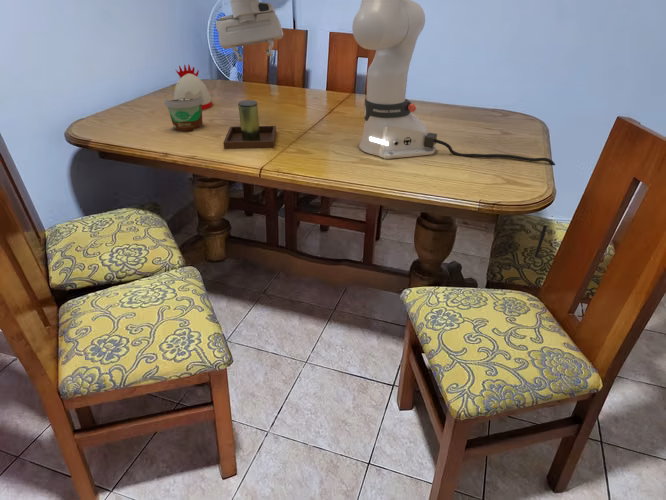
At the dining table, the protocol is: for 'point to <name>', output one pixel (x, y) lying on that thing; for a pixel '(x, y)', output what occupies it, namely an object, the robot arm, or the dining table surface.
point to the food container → (185, 113)
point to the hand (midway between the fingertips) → (255, 58)
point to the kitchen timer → (191, 87)
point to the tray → (235, 141)
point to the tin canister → (249, 120)
